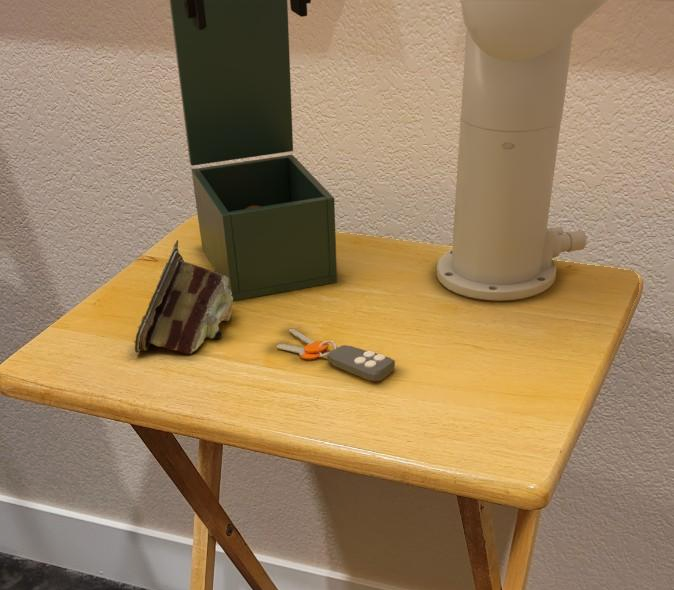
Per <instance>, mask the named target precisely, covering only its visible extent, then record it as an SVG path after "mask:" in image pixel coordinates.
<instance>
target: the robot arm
mask: <svg viewBox="0 0 674 590" xmlns="http://www.w3.org/2000/svg"><path fill="white" fill-rule="evenodd" d="M183 2H184V9H185V14H186V17H187V18H188V19H190V18H192V22H193V25H194V26H195V27H196V28H197V29H198V30H204V29H205V28H206V27H207V24H206V17H205V9H204V1H203V0H183ZM311 2H312V0H289V5H290V11H291V12H292V13H295V14H296V15H297V16H299V17H301V18H302V17H307V16H308V4H311ZM607 2H608V0H460V6H461V7H460V8H461V14H462V18H463V23H464V26H465V28H466V34H465V46H464V47H465V48H464V61H463V63H464V64H463V74H462V75H463V76H462V77H463V78H462V90H461V104H460V105H461V107H460V117H459V132H458V133H459V134H458V150H457V165H456V166H457V167H456V168H457V169H456V181H455V182H456V184H455V199H454V200H455V201H454V215H453V216H454V217H453V233H452V234H453V235H452V249H451V250H448V251H447V252H445V253H444V254H443V255H441V257H440V258H439V259H438V260H437V263H436V277H437V279H438V281H439V283H441V285H442V286H444V287H445V288H446V289H447V290H449V291H451V292H453V293H455V294H457V295H461V296H462V297H463V296H464V297H467V298H472V299H475V300H482V301H483V300H484V301H495V302H496V301H515V300H522V299H526V298H531V297H534V296H536V295H539V294H541V293H543V292H545V291H546V290H548V289H550V287H551V286H552V285H553V284H554V282H555V280H556V275H557V264H556V263H555V261H554V260H553V259H554V258H558V257H559V256H560V254H561V253H566V252H567V253H570V252H576V251H581V250H584V249H585V248H586V246H587V241H588V239H587V234H586V232H585V231H583V230H575V231H570V232H565V233H564V229H563V227H562V226H554V227H549V228H548V222H549V215H550V208H551V200H552V191H553V185H554V177H555V170H556V169H555V168H556V161H557V154H558V146H559V140H560V139H559V138H560V133H561V132H560V131H561V123H562V119H563V113H564V107H565V106H564V105H565V97H566V90H567V83H568V76H569V68H570V59H571V52H572V51H571V50H572V42H573V36H574V35H573V34H574V32H575V31H576V30H577V29H578V28H579V27H580V26H581V25H582V24H583V23H584V22H585V21H586V20H588V19H589V18H590V17H591V16H592V15H593V14H595V12H596V11H598V10H599V9H600V8H601V7H602V6H603V5H604V4H606V3H607Z"/></svg>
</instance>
